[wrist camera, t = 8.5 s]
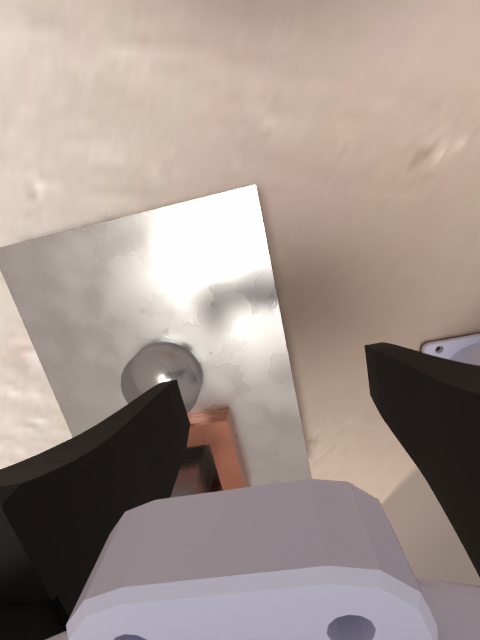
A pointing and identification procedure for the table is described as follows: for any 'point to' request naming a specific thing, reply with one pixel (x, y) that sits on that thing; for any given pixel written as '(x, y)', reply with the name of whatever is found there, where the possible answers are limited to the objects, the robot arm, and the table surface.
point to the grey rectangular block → (195, 472)
